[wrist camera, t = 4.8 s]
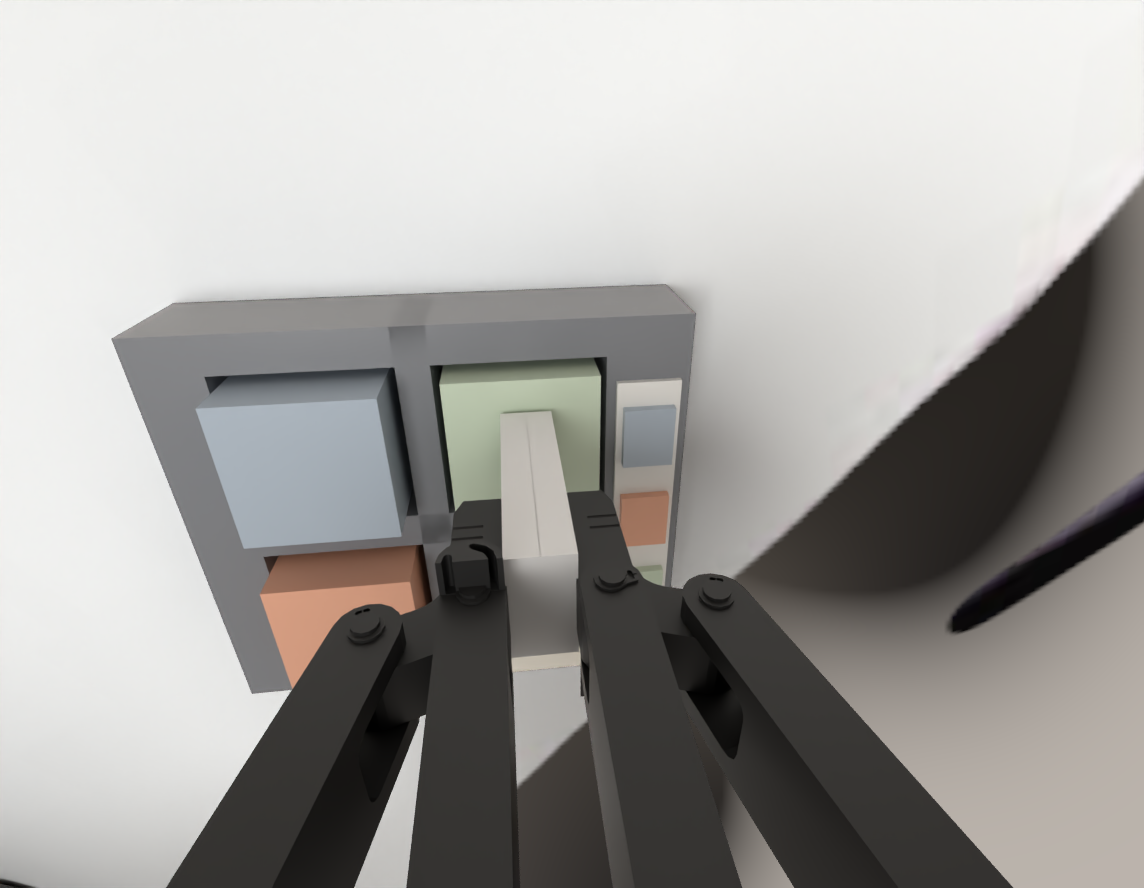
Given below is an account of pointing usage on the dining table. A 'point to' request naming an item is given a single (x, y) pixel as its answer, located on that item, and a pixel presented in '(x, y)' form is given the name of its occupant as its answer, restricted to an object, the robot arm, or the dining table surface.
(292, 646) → the key terracotta
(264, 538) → the key slate
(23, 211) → the dining table surface
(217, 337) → the keypad
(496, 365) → the key sage
